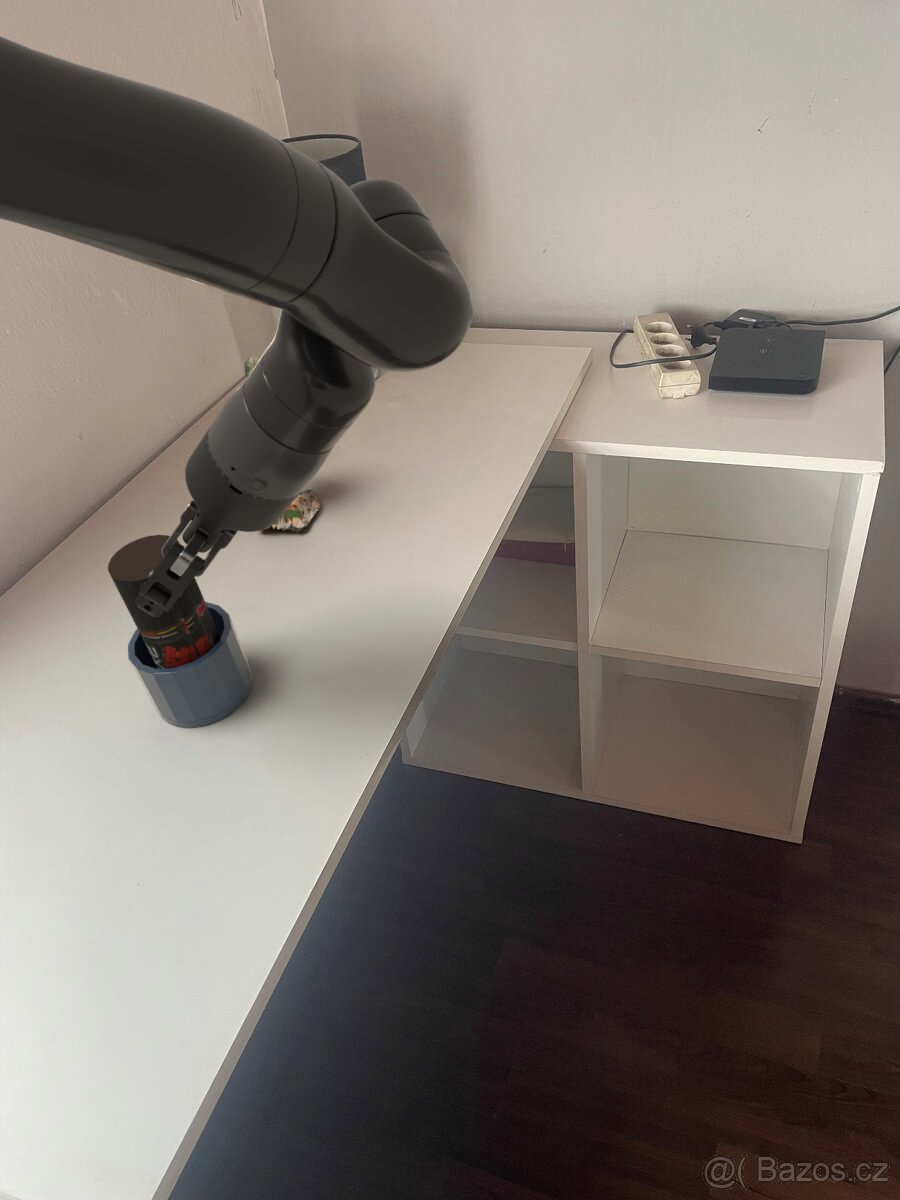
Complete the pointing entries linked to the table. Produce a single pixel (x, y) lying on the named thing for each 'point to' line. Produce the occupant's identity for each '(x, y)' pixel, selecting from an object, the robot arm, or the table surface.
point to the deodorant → (176, 630)
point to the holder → (197, 678)
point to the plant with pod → (304, 502)
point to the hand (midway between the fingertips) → (172, 572)
